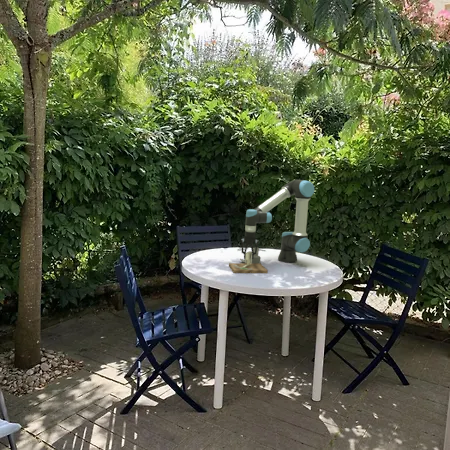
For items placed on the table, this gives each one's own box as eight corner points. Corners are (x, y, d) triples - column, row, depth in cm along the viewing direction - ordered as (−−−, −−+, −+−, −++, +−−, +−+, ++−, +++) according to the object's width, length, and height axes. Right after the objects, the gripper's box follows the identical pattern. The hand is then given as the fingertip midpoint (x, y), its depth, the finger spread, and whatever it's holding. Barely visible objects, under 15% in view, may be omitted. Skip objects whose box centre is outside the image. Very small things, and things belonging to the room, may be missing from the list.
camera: (262, 249, 315) (243, 249, 311) (261, 264, 317) (242, 265, 313) (258, 246, 324) (239, 247, 319) (257, 261, 325) (239, 262, 321)
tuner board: (260, 266, 311) (260, 263, 311) (267, 273, 293) (267, 270, 293) (228, 265, 307) (228, 262, 307) (233, 273, 289) (234, 270, 288)
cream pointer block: (248, 264, 306) (249, 251, 305) (251, 264, 305) (252, 251, 304) (241, 268, 295) (242, 254, 293) (244, 268, 294) (245, 254, 292)
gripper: (238, 231, 296) (236, 263, 299) (261, 232, 294) (259, 265, 298) (239, 229, 303) (237, 261, 307) (261, 231, 302) (259, 262, 305)
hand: (248, 263), depth 302 cm, fingers closed on cream pointer block, 3 cm apart
